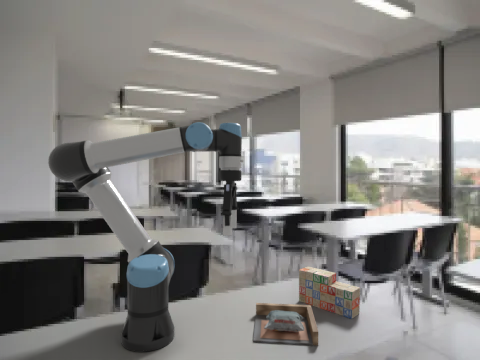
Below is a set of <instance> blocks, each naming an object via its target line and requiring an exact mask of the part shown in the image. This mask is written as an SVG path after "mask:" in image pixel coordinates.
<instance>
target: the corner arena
mask: <svg viewBox="0 0 480 360" xmlns="http://www.w3.org/2000/svg"><path fill="white" fill-rule="evenodd" d="M255 303H256V305H255V319H254V320H255V321H254V329H253V339H252V341H253V343H265V344H267V343H269V344H283V345H284V344H285V345H303V346H316V347H317V346H318V347H319V329H318V326H317V322H316V318H315V315H314V311H313V308H312V305H309V304H295V303H293V304H292V303H291V304H289V303H270V302H269V303H268V302H267V303H266V302H265V303H264V302H255ZM274 310H279V311H291V312H297V313H298V314H299V315H301V316H302V317H303V319H302V320H301V323H302V324H303V327H304V331H299V332H286V331H272V330H270V329H267V328H266V329H264V327H265V326H266V324H267V323H268V322H269V320H268V319H267V318H266V316H268V314H269V313H270V312H271V311H274Z"/></svg>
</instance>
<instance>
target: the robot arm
mask: <svg viewBox="0 0 480 360" xmlns="http://www.w3.org/2000/svg"><path fill="white" fill-rule="evenodd" d="M242 138H243V136H242V126H241V124H239V123H236V122H222V123H220V124H219V127H218V128H215V129H212V128H210V126H209V125H207V124H206V123H204V122H203V121H202V122H200V121H196V122H192V124H191V123H190V125H185V126H179V127H174V128H168V129H162V130H158V131H152V132H148V133H141V134H135V135H129V136H123V137H120V138H119V137H118V138H114V139H109V140H102V141H97V142H93V141H91V140H90V139H88V140H82V141H73V142H64V143H60V144H59V145H57V146H55V147H54V148H53V149H52V150H51V152H50V153H49V156H48V162H47V164H48V168H49V170H50V171H51V173H52V175H54V176H55V177H56V178H57V179H59V180H61V181H64V182H71V183H72V184H73V186H74V187H75V188H76V190H77V192H79V193H82V194H86V195H87V197H88V198H89V200H90V201H91V203H93V205H94V207H95V208H96V210H97V211H98V212H99V214H100V215H101V217H102V218H103V220H104V221H105V222H106V224H107V226H109V228H110V229H111V231H112V232H113V234H114V235H115V237H116V238H117V240H119V243H120V244H121V245H122V246H123V248H124V249H125V251H126V253H128V255H127V262H128V265H127V269H126V292H127V293H126V295H127V296H126V297H127V299H126V301H127V315H126V318H125V321H124V324H123V328H122V329H121V330H122V331H121V334H120V336H121V337H120V338H121V339H120V340H121V341H120V342H121V345H122V347H123V348H125V349H126V350H128V351H131V352H139V353H142V352H144V353H145V352H150V351H151V352H152V351H155V350H159V349H161V348H162V349H163V348H164V347H166V346H167V345H169V344H171V342H173V340H174V338H175V325H174V322H173V319H172V317H171V314H170V313H171V312H170V310H169V285H170V282H171V278H172V277H173V274H174V272H175V265H176V264H175V263H176V262H175V259H174V256H173V254H172V253H171V252H170V251H169V250H168V249H167V248H165V247H163V245H162V244H161V243H160V241H159V240H158V239H154V238H152V237H150V235H149V233H148V232H147V230H146V229H145V228H144V226H143V225H142V224H141V222H140V220H139V218H138V217H137V216H136V215H135V213H134V212H133V210H132V209H131V208H130V206H129V204H128V203H127V201H126V200H125V199H124V197H123V195H122V194H121V193H120V191H119V190H118V188H117V187H116V186H115V184H114V182H113V181H112V175H113V173H112V171H111V170H110V167H115V166H121V165H125V164H126V165H127V164H131V163H137V162H141V161H142V162H143V161H145V160H147V161H149V160H151V159H152V160H153V159H158V158H162V157H166V156H167V157H168V156H172V155H179V154H182V153H188V152H189V153H190V152H192V153H197V152H198V153H201V152H215V153H218V152H219V157H218V159H219V160H218V168H219V169H220V170H219V173H218V174H219V175H218V176H219V177H218V179H219V181H221V182H225V183H224V184H223V199H222V212H220V216H222V218H223V220H222V221H223V222H222V226H223V227H222V236H223V237H224V236H225V237H233V229H237V228H238V227H237V222H238V221H237V210H239V209H240V208H239V206H238V198H237V195H238V194H237V190H238V187H237V182H240V181H242V169H241V168H242V163H244V159H242V147H243V146H242V143H243V141H242V140H243V139H242Z"/></svg>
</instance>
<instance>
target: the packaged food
mask: <svg viewBox="0 0 480 360" xmlns="http://www.w3.org/2000/svg"><path fill="white" fill-rule="evenodd" d="M266 318H267V319H268V320H269V322H268V323H267V324H266V326H265V327H264V329H266V328H267V329H270V330H272V331H286V332H299V331H304V327H303V324H302V323H301V320H302V319H303V317H302V316H301V315H299V314H298V313H297V312H291V311H279V310H274V311H271V312H270V313H269V314H268V316H266Z"/></svg>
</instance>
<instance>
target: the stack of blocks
mask: <svg viewBox="0 0 480 360" xmlns="http://www.w3.org/2000/svg"><path fill="white" fill-rule="evenodd" d="M298 290H299V291H298V298H299V299H298V301H299V302H301V303H303V304H305V305H311V307H312V306H313V307H316V308H318V309H321V310H325V311H327V312H330V311H331V312H330V313H333V312H334V314H336V315H338V316H339V315H340V316H341V317H345V318H348V319H351V320H352V319H354V318H355V317H357V316H358V315H359V314H360V313H361V312H360V310H361V309H360V306H361V303H360V302H361V298H360V296H361V287H359V286H356V285H352V284H349V283H344V282H340V281H337V273H336V272H334V271H330V270H329V271H328V270H324V269H320V268H315V267H312V266H306V267H303V268H300V269H299V270H298Z"/></svg>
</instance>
